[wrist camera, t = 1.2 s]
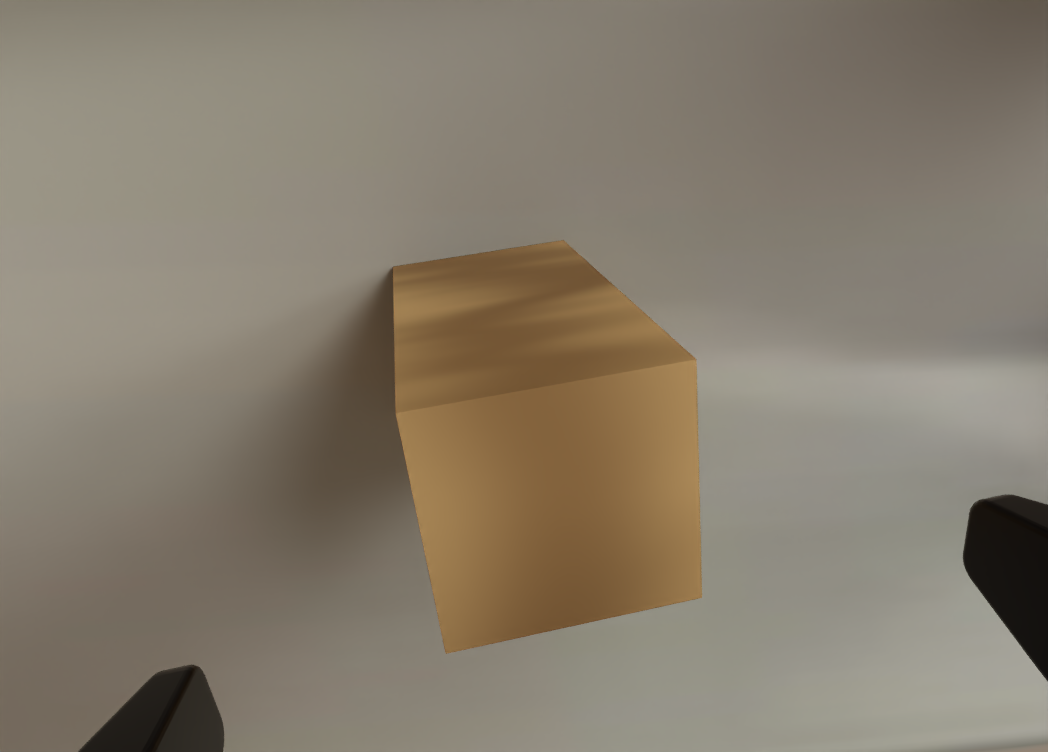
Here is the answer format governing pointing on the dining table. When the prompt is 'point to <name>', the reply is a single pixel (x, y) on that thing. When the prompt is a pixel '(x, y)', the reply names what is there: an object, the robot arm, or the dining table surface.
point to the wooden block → (543, 444)
